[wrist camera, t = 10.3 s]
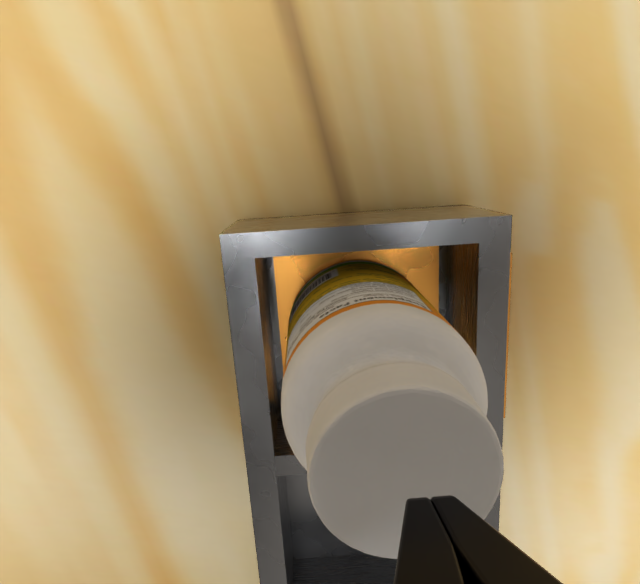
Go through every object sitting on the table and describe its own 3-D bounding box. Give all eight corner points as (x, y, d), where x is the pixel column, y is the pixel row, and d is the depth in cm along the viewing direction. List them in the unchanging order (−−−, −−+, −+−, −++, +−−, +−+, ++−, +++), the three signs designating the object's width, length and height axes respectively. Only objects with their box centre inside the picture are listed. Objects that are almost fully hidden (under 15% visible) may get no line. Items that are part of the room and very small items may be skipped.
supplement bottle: (416, 387, 19) (519, 591, 10) (286, 383, 19) (268, 587, 10) (430, 260, 18) (565, 358, 9) (291, 254, 18) (275, 347, 8)
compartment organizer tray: (462, 667, 25) (495, 768, 21) (287, 682, 25) (284, 786, 20) (472, 204, 19) (521, 214, 14) (238, 219, 18) (219, 234, 14)
